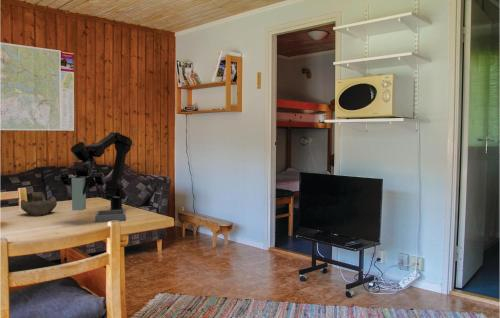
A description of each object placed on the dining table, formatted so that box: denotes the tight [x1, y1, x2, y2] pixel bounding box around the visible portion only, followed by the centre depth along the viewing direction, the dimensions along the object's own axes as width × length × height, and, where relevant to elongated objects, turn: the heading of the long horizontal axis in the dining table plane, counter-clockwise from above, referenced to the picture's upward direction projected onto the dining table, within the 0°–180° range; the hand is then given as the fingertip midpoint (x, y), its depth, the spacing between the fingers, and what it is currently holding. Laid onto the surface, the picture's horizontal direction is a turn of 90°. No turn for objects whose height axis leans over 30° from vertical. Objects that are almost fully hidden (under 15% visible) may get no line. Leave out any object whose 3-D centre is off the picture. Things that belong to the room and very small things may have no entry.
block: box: [71, 177, 87, 211], centre depth 188 cm, size 4×4×14 cm
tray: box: [94, 209, 126, 223], centre depth 200 cm, size 13×13×3 cm
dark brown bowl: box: [20, 191, 58, 217], centre depth 211 cm, size 16×11×15 cm
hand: (77, 194), depth 186 cm, fingers closed on block, 4 cm apart
